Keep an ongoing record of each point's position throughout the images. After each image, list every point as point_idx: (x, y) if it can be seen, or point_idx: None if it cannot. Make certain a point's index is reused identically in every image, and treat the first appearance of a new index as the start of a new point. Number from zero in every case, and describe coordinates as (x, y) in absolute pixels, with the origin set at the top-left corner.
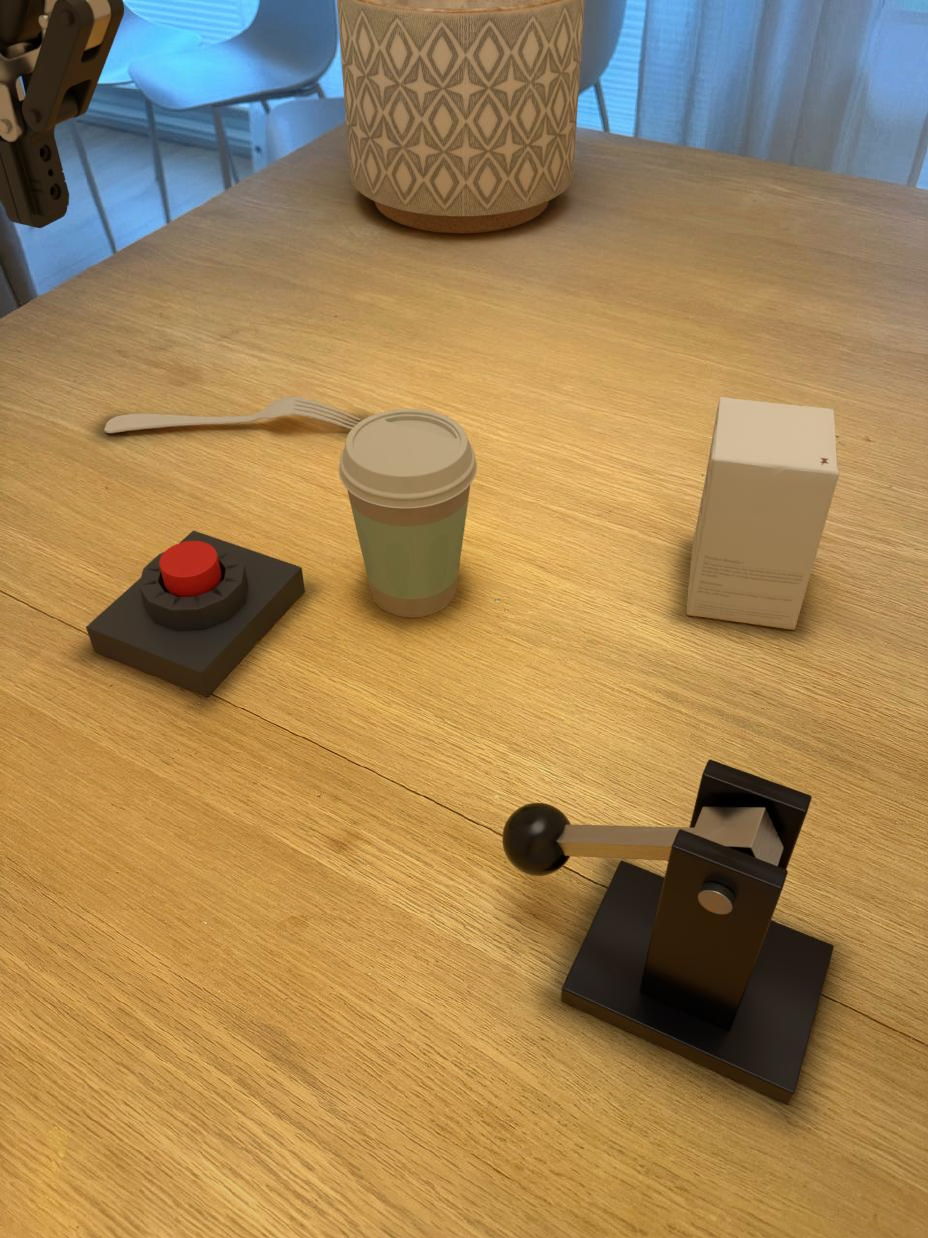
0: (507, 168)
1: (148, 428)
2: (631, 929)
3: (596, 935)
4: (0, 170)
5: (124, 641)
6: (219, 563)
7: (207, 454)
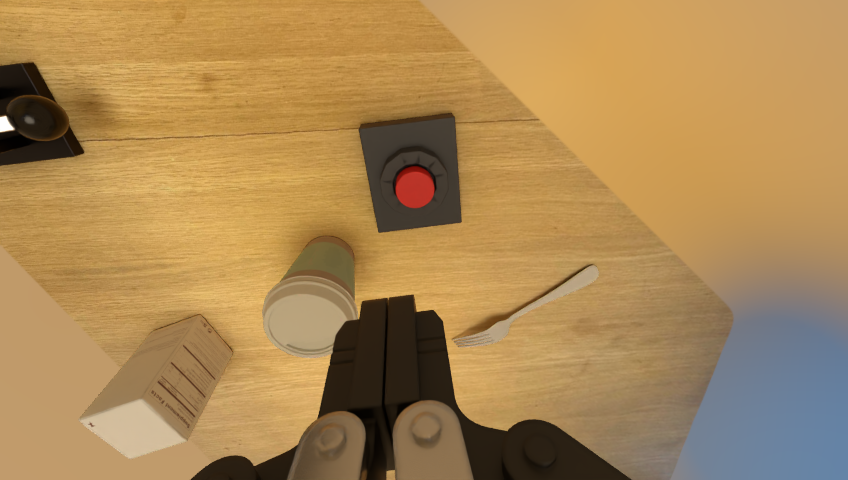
0: None
1: (568, 280)
2: None
3: None
4: (395, 353)
5: (422, 121)
6: None
7: (519, 282)
